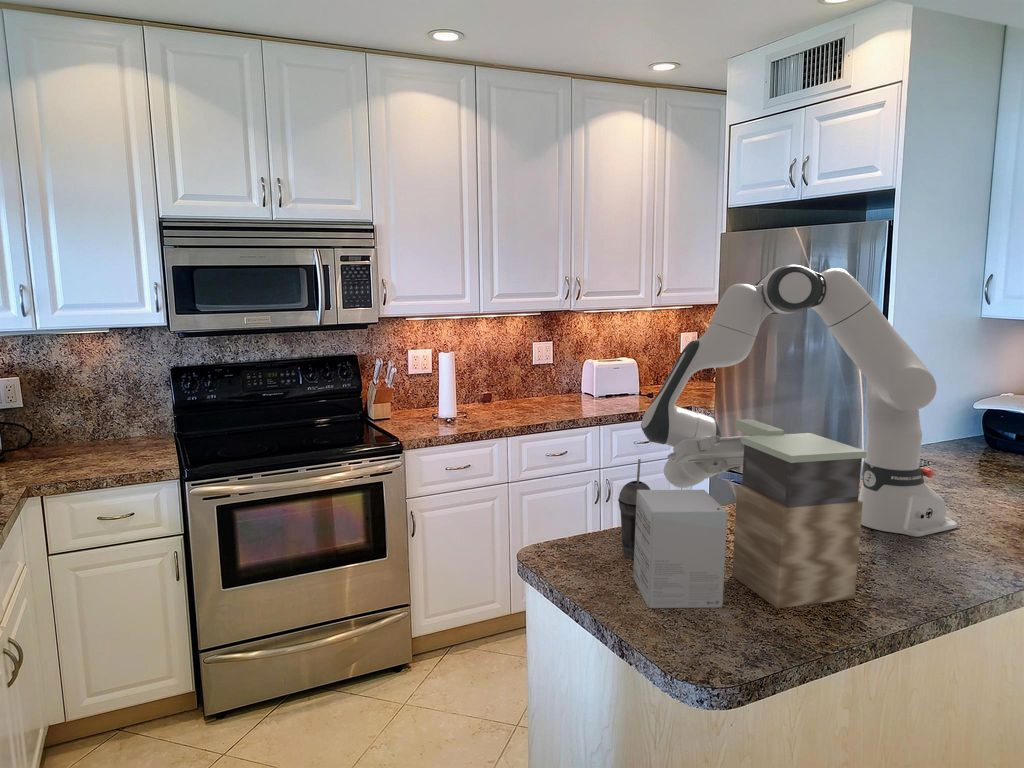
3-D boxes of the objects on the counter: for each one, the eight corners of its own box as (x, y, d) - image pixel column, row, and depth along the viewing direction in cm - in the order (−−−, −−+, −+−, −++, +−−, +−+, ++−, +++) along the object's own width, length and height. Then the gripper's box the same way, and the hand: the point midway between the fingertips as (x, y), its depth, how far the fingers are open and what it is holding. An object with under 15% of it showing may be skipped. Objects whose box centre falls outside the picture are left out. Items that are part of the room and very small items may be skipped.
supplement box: (701, 577, 135) (705, 488, 133) (723, 608, 122) (729, 511, 120) (632, 577, 135) (635, 488, 132) (647, 609, 122) (651, 511, 119)
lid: (774, 427, 147) (775, 417, 147) (866, 457, 122) (867, 446, 122) (709, 430, 143) (710, 420, 143) (791, 462, 118) (791, 451, 118)
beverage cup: (611, 557, 144) (614, 462, 141) (623, 545, 150) (626, 454, 148) (646, 564, 141) (649, 466, 138) (656, 552, 147) (660, 458, 144)
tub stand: (803, 567, 140) (813, 439, 136) (854, 598, 126) (866, 457, 123) (731, 575, 136) (739, 443, 132) (776, 608, 122) (786, 462, 119)
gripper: (661, 445, 158) (688, 426, 146) (742, 440, 163) (775, 421, 151) (667, 473, 156) (695, 455, 143) (749, 467, 161) (783, 449, 148)
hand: (737, 437), depth 147 cm, fingers open, 8 cm apart
